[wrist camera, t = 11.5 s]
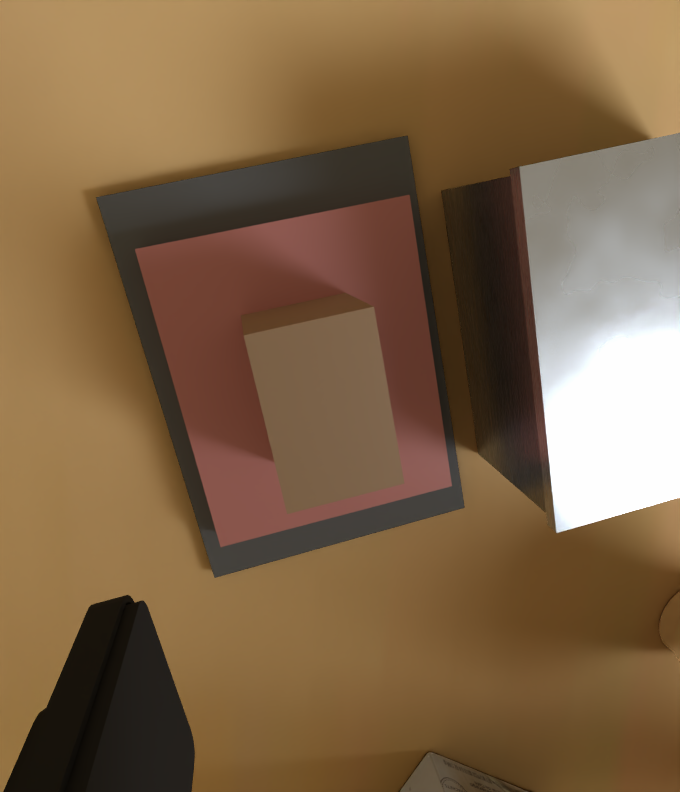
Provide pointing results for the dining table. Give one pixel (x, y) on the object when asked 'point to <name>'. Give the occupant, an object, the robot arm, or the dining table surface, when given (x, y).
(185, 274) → the lid
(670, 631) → the cup with straw
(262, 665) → the dining table surface
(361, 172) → the mat
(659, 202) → the tin
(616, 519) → the dining table surface
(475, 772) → the coffee box
